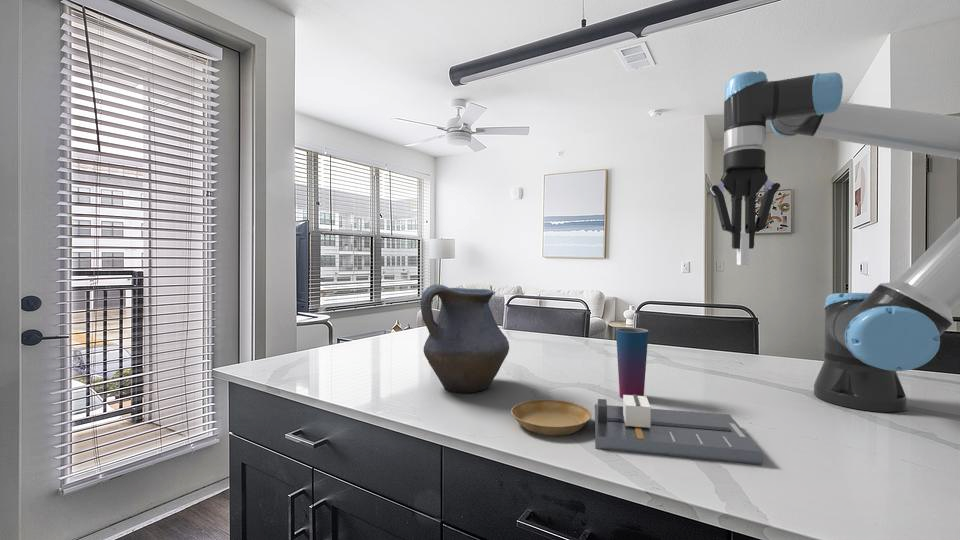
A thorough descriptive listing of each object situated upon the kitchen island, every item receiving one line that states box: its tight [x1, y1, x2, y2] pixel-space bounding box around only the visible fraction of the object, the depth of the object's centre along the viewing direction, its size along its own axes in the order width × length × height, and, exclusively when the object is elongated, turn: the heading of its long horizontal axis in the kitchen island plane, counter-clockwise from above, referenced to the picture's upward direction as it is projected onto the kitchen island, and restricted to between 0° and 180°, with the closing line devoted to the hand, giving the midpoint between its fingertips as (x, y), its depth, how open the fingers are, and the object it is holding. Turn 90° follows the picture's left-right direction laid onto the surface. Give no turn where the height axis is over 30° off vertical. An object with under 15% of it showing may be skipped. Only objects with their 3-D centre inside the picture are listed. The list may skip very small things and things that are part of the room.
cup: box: [615, 326, 649, 400], centre depth 98 cm, size 7×7×15 cm
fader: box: [622, 394, 652, 428], centre depth 78 cm, size 4×6×4 cm, turn 166°
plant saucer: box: [510, 398, 592, 437], centre depth 82 cm, size 15×15×3 cm
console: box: [594, 398, 763, 466], centre depth 77 cm, size 24×16×5 cm, turn 76°
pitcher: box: [420, 283, 510, 394], centre depth 105 cm, size 21×22×25 cm
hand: (742, 264), depth 93 cm, fingers closed
